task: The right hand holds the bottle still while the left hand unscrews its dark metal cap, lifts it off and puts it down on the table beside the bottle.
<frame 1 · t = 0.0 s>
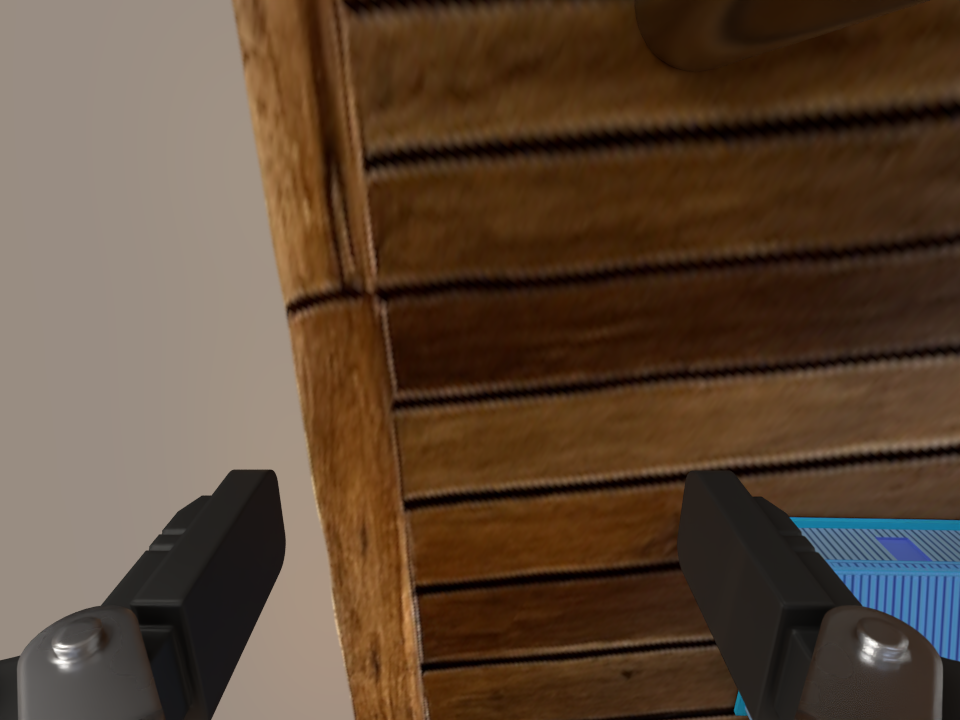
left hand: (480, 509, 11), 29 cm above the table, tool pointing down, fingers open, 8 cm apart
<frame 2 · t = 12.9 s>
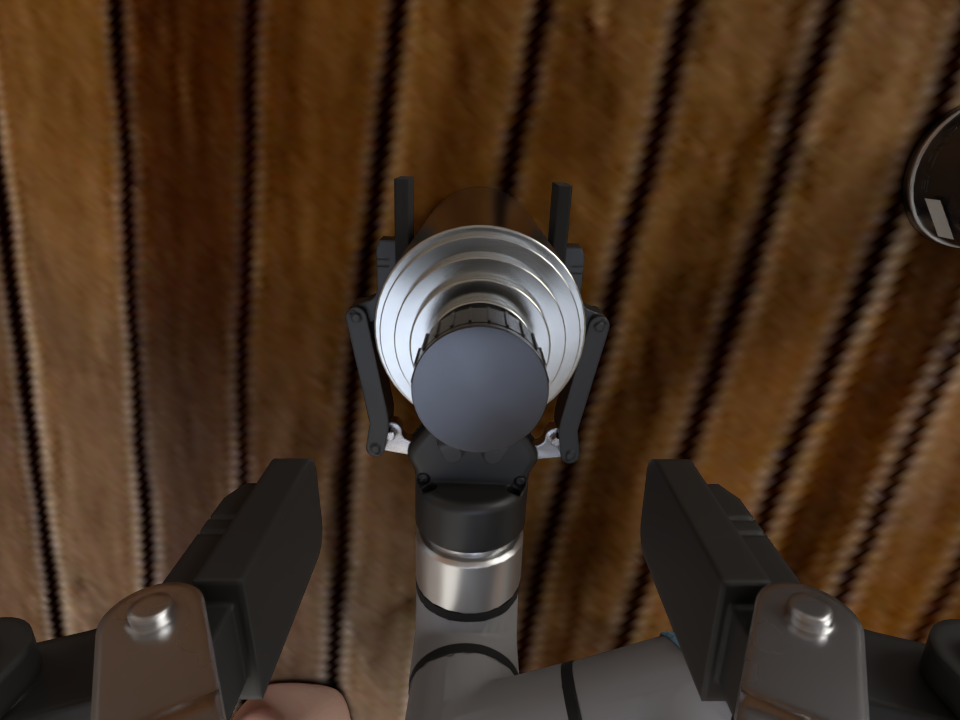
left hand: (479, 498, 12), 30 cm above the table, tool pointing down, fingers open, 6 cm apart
right hand: (483, 181, 33), fingers closed on bottle, 8 cm apart
cap: (480, 387, 17), point 25 cm above the table, screwed on, not yet turned
bottle: (480, 247, 40), on the table, touching right hand
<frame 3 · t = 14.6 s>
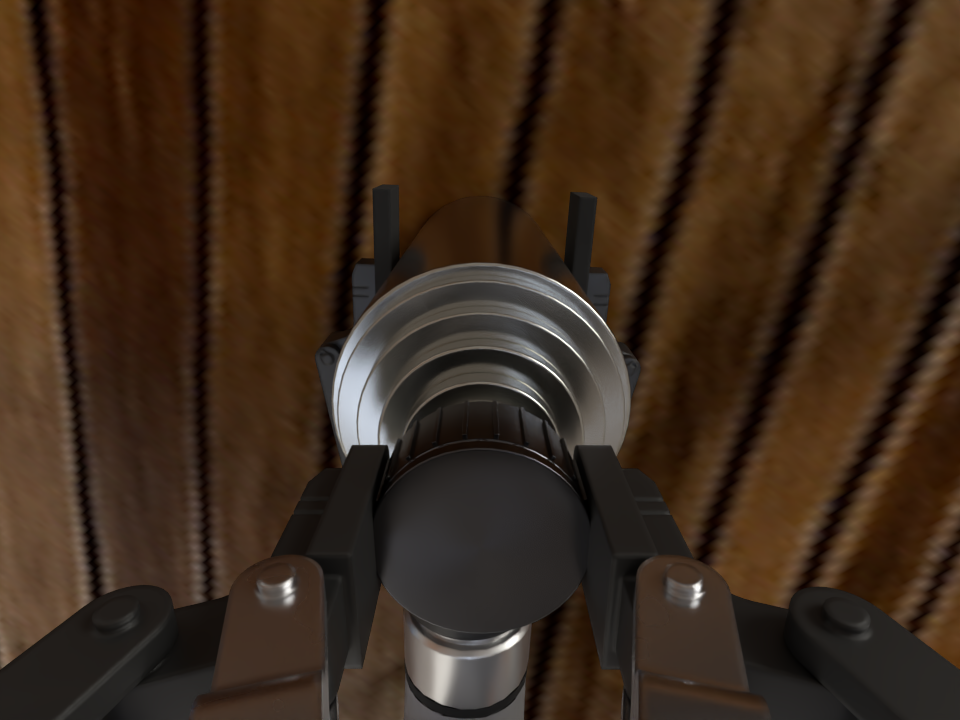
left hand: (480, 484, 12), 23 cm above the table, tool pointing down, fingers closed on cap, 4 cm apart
cap: (481, 536, 11), point 25 cm above the table, screwed on, not yet turned, touching left hand
bottle: (480, 267, 34), on the table, touching right hand
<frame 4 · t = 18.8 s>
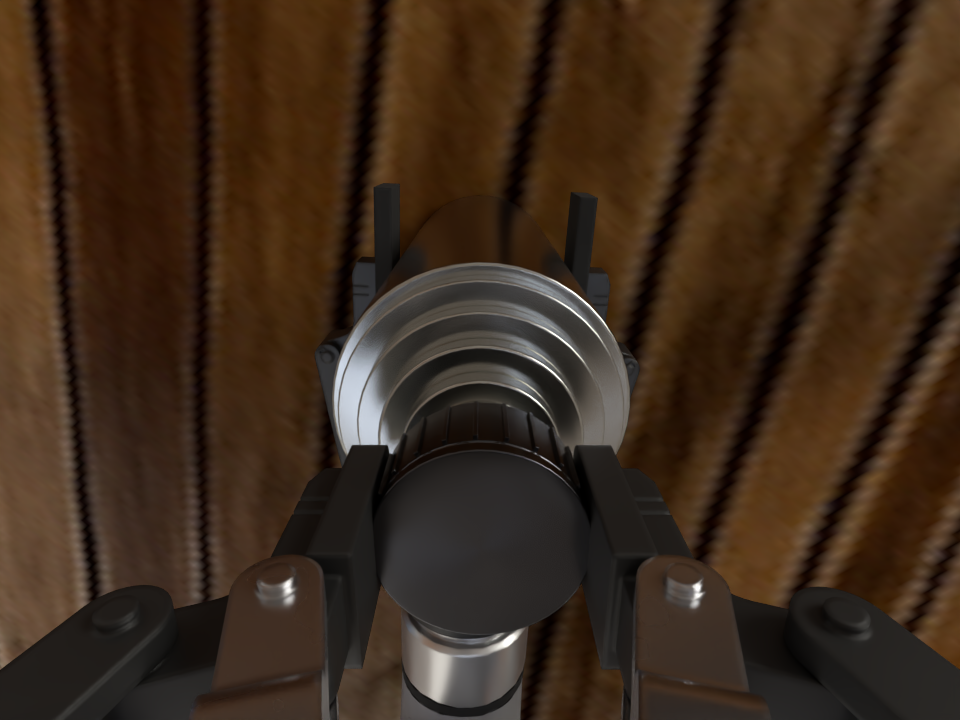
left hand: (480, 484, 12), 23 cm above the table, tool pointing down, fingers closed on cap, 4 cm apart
cap: (481, 538, 11), point 25 cm above the table, turned 105° so far, risen 0.1 cm, still on its thread, touching left hand
bottle: (480, 267, 34), on the table, touching right hand
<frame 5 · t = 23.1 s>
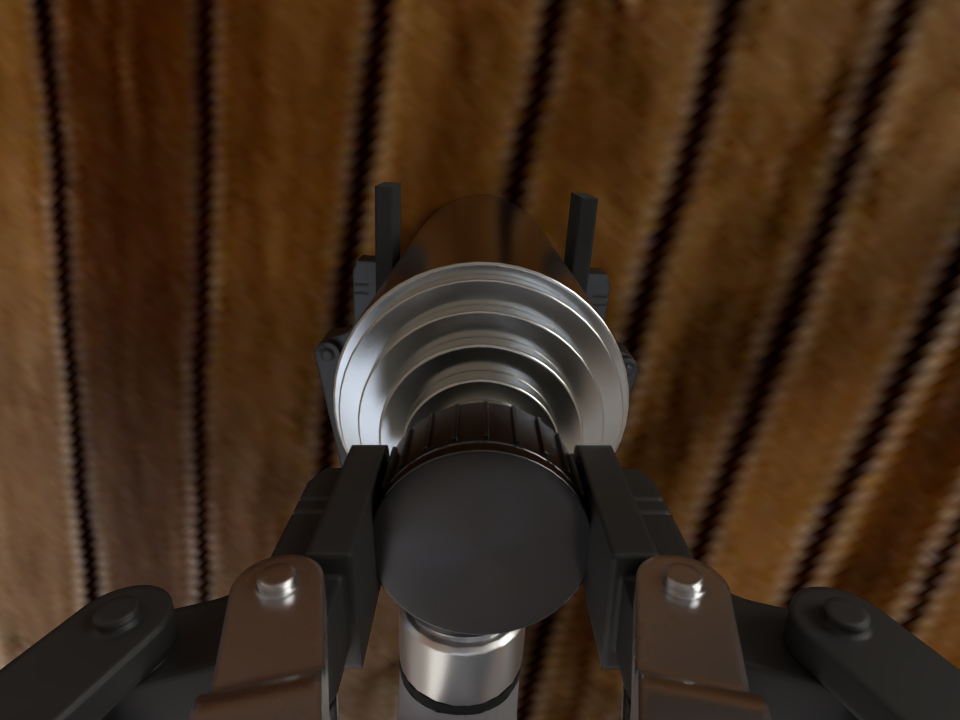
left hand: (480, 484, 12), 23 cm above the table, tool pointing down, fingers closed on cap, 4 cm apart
cap: (481, 538, 11), point 25 cm above the table, turned 209° so far, risen 0.2 cm, still on its thread, touching left hand
bottle: (480, 266, 34), on the table, touching right hand
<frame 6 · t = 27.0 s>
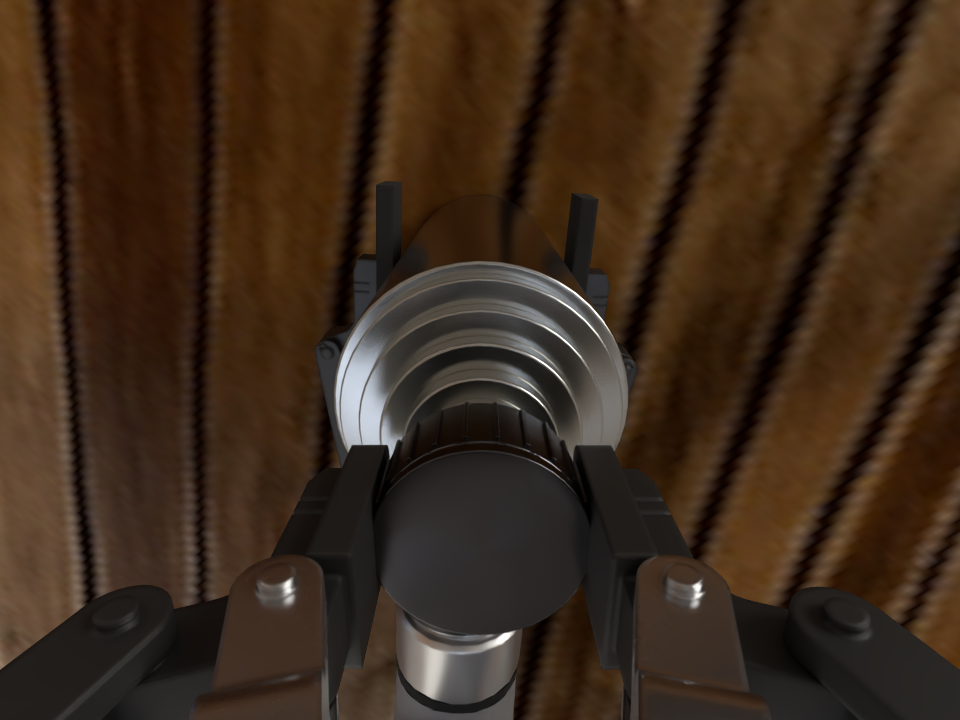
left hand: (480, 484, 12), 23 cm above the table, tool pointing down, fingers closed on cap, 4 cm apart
cap: (481, 538, 11), point 25 cm above the table, turned 314° so far, risen 0.3 cm, still on its thread, touching left hand
bottle: (480, 266, 34), on the table, touching right hand
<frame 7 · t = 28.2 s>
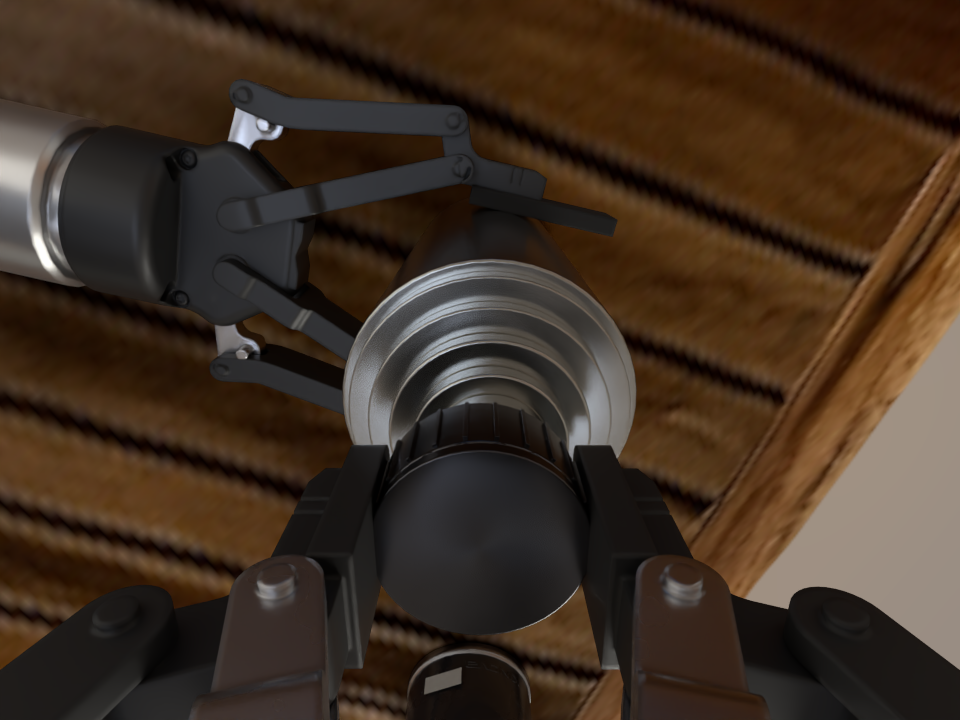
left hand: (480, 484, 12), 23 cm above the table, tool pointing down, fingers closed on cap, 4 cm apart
right hand: (581, 314, 28), fingers closed on bottle, 8 cm apart
cap: (480, 538, 11), point 25 cm above the table, off its thread, touching left hand
bottle: (485, 266, 34), on the table, touching right hand
when the left hand's fingers open (1 cm above the table, at t = 34.4 s): cap drops 2 cm, point 2 cm above the table.
when the right hand's fingers open (6 cm above the table, at t = 35.5 s): bottle stays where it is, on the table.
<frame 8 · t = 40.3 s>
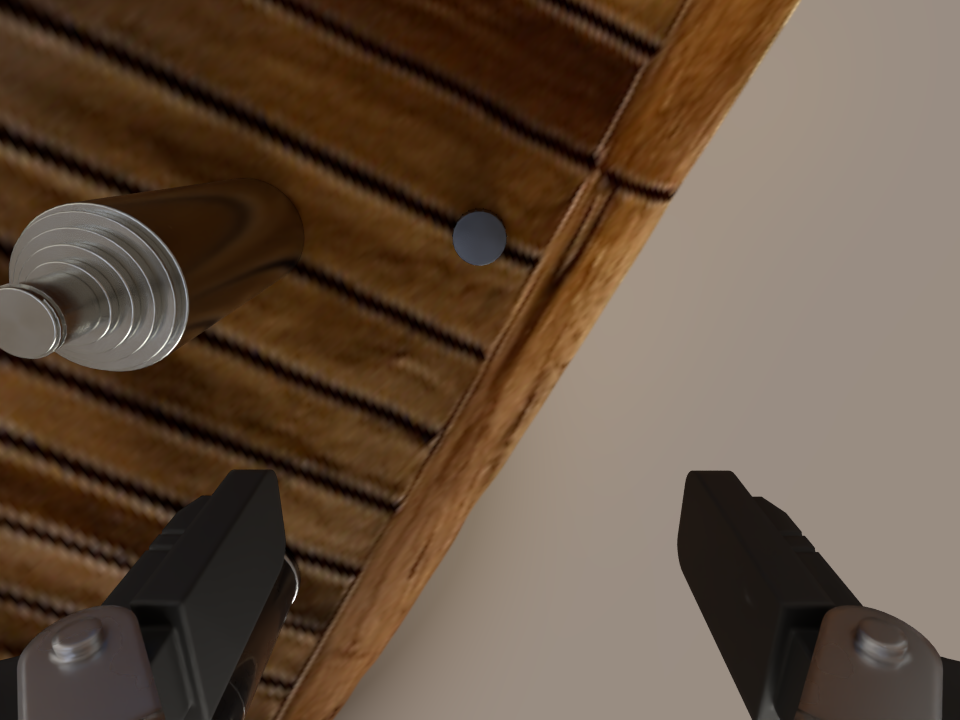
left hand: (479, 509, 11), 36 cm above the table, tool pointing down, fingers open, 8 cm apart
cap: (479, 238, 44), point 2 cm above the table, off its thread
bottle: (252, 232, 45), on the table
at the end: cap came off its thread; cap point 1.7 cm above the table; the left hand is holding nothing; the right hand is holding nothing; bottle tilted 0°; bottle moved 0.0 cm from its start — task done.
